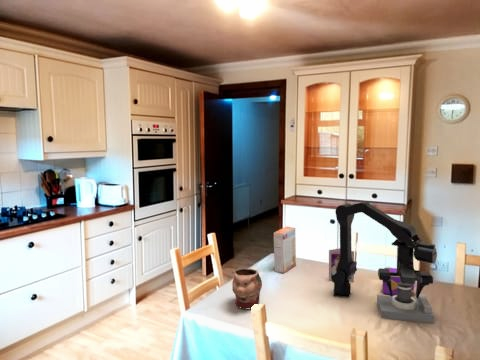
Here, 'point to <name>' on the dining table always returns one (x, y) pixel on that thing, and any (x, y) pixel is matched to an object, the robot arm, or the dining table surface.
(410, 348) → the dining table surface
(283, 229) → the cracker box
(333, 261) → the purple printed box
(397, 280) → the toy camera
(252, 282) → the decorative planter
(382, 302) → the mount
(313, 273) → the dining table surface
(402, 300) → the lens
